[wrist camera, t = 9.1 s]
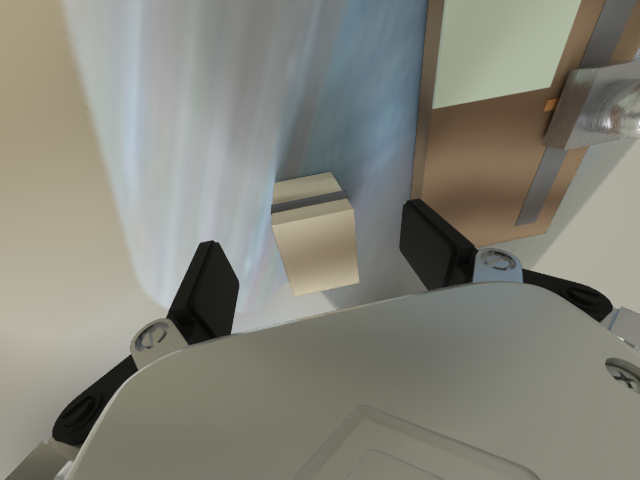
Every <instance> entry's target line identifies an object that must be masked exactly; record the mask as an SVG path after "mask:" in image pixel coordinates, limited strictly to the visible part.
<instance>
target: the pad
mask: <svg viewBox="0 0 640 480" xmlns="http://www.w3.org/2000/svg"><path fill="white" fill-rule="evenodd" d="M580 3H581V0H445V2H444V10H443V19H442V27H441V36H440V44H439V53H438V61H437V70H436V78H435V87H434V95H433V104H432V109H436V108H441V107H447V106H452V105H457V104H463V103H468V102H473V101H479V100H484V99H489V98H495V97H500V96H505V95H511V94H516V93H521V92H527V91H532V90H538V89H543V88H548V87H550V86H551V83H552V81H553V78H554V75H555V72H556V70H557V67H558V64H559V61H560V58H561V56H562V53H563V50H564V47H565V45H566V42H567V39H568V36H569V33H570V31H571V28H572V25H573V22H574V20H575V17H576V14H577V11H578V8H579V6H580Z"/></svg>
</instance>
